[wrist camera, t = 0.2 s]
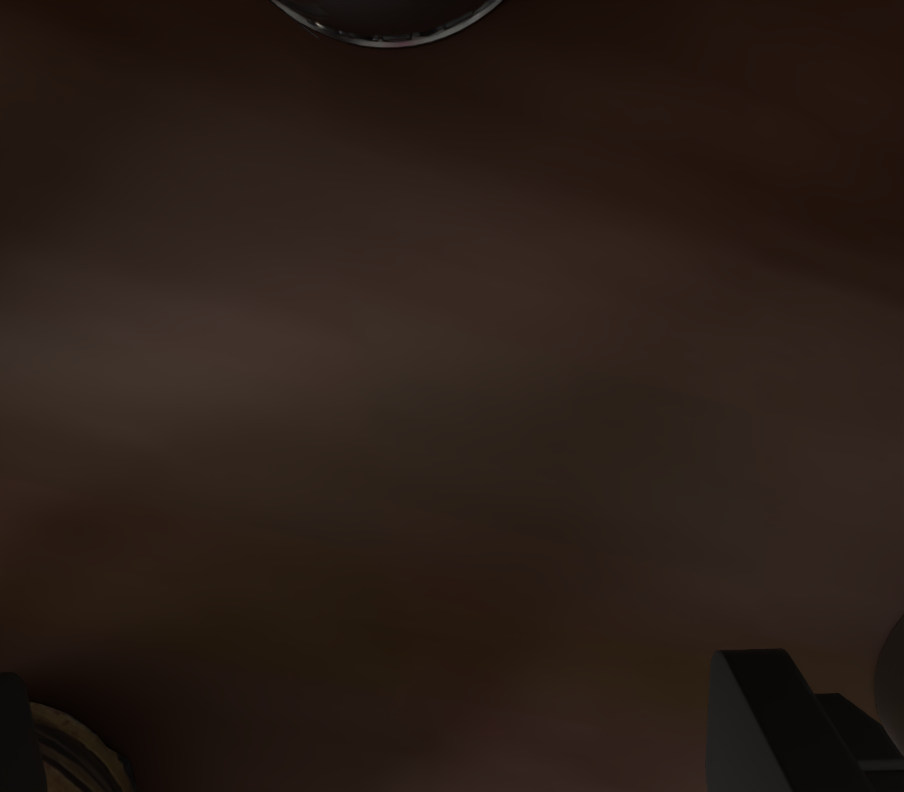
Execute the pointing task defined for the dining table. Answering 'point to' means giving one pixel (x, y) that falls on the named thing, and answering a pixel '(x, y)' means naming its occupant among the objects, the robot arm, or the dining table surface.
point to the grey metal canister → (892, 686)
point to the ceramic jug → (78, 755)
